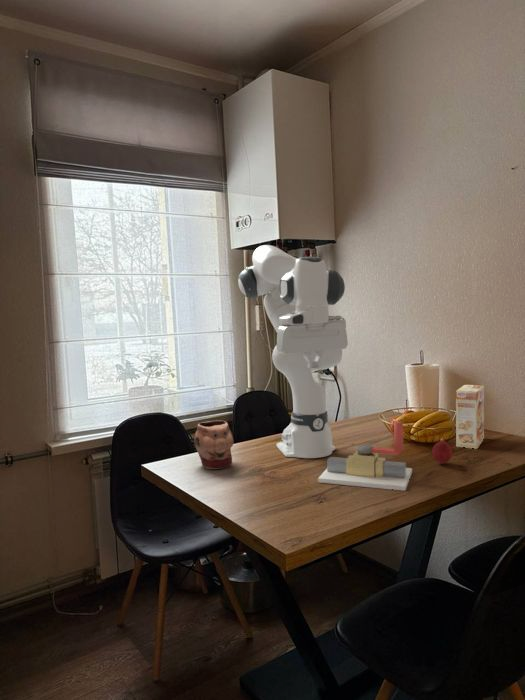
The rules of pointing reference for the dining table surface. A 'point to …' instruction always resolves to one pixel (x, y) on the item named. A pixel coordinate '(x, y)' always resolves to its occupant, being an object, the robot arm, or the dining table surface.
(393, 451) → the lever
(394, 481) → the mounting board
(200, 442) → the decorative planter
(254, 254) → the robot arm
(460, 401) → the coffeecake box
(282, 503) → the dining table surface
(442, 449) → the onion
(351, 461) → the valve and pipe
